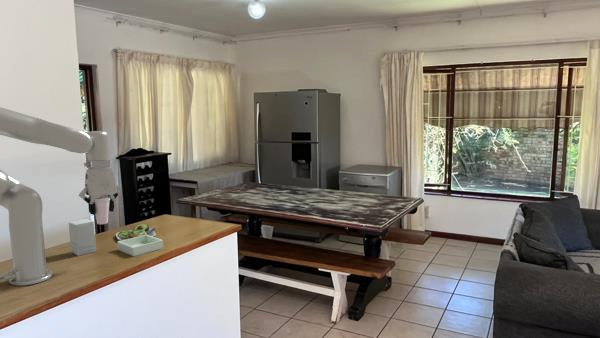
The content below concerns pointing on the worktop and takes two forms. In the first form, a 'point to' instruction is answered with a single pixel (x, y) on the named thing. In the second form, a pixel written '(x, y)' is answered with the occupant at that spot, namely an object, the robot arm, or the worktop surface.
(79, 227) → the supplement box
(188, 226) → the worktop surface
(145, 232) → the avocado toast plate
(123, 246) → the bin
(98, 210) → the smoothie
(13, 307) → the worktop surface
